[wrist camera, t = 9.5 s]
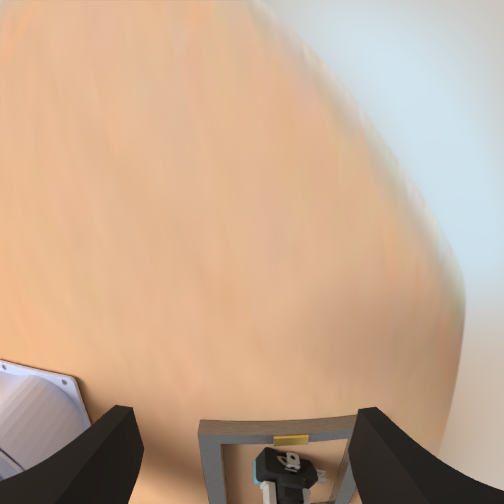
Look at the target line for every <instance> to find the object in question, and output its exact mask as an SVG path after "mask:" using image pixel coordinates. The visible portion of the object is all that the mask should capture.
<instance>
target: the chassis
mask: <svg viewBox="0 0 504 504" xmlns="http://www.w3.org/2000/svg"><path fill="white" fill-rule="evenodd" d="M356 418H357V415H353V416H344V417H334V418H323V419H309V420H291V421H212V420H200V424H199V429H198V439H199V446H200V452H201V459H202V465H203V471H204V477H205V482H206V488H207V493H208V499H209V504H228V498H227V488H226V478H225V468H224V456H223V445H222V444H274V446H284V445H303V444H308V442H316V441H327V440H337V439H345V438H349V439H348V442H347V446H346V449H345V453H344V456H343V460H342V463H341V466H340V469H339V473H338V476H337V479H336V482H335V485H334V488H333V491H332V494H331V497H330V500H329V502H322V503H313V504H349V502H350V500H351V497H352V495H353V493H354V490H355V488H356V483H355V480H354V477H353V474H352V469H351V465H350V459H349V454H348V448H349V444H350V441H351V437H352V433H353V430H354V426H355V422H356Z"/></svg>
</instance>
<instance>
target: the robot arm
mask: <svg viewBox="0 0 504 504" xmlns="http://www.w3.org/2000/svg"><path fill="white" fill-rule="evenodd" d="M143 452H144V446H143V443H142V440H141V436H140V433H139V429H138V426H137V422H136V419H135V415H134V411H133V407H126V406H119V405H115V406H114V407H113V408H111V409H110V410H109V411H108V412H107V413H105V414H104V415H103V416H102V417H101V418H100V419H98V420H97V421H96V422H95V423H94V424H92V425H91V423H90V420H89V417H88V414H87V412H86V409H85V406H84V403H83V400H82V397H81V394H80V391H79V388H78V385H77V382H76V380H75V379H74V378H73V377H71V376H67V375H62V374H57V373H53V372H48V371H43V370H39V369H35V368H30V367H26V366H22V365H18V364H15V363H11V362H7V361H3V360H0V504H128V502H129V499H130V496H131V494H132V491H133V488H134V486H135V483H136V480H137V477H138V474H139V471H140V466H141V462H142V457H143ZM348 454H349V459H350V465H351V469H352V474H353V477H354V480H355V483H356V486H357V489H358V492H359V495H360V498H361V501H362V503H363V504H504V491H502V490H500V489H497V488H494V487H491V486H488V485H486V484H484V483H481V482H479V481H476V480H474V479H472V478H470V477H468V476H466V475H464V474H463V473H461V472H459V471H457V470H455V469H454V468H452V467H450V466H449V465H447V464H445V463H444V462H442V461H441V460H439V459H438V458H437V457H435V456H434V455H432V454H431V453H430V452H428V451H427V450H426V449H424V448H423V447H422V446H420V445H419V444H418V443H417V442H415V441H414V440H413V439H412V438H411V437H409V436H408V435H407V434H406V433H405V432H404V431H403V430H401V429H400V428H399V427H398V426H397V425H396V424H395V423H394V422H392V421H391V420H390V419H389V418H388V417H387V416H386V415H385V414H384V413H383V412H382V411H380V410H379V409H378V408H377V407H371V408H363V409H359V410H358V414H357V418H356V422H355V426H354V430H353V433H352V437H351V441H350V444H349V448H348Z"/></svg>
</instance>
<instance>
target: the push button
mask: <svg viewBox="0 0 504 504" xmlns="http://www.w3.org/2000/svg"><path fill="white" fill-rule="evenodd" d="M286 454H287V455H283V454H279V453H276V451H275V450H274V449H272V448H268V447H266V448H265V449H264V450H263V451H262V452H261V453H260V455H259V456H258V457H257V458H256V459H255V460H254V462H253V482H254V484H256V485H259V486H260V489H261V490H263V504H310V499H309V495H310V494H311V492H310V489H309V488H310V487H312V486H313V485H314V484H315V483H320V484H324V483H325V482H326V481H327V480H328V478H322V477H319V476H323V475H324V474H325V473H326V471H323V470H318V469H317V468H315V467H313V465H312V462H311V461H308V460H304V459H299V456H298V455H297V454H296V453H291V452H287V453H286ZM291 456H294V457H291ZM318 472H322V473H321V474H317V473H318ZM319 480H323V481H321V482H320V481H319Z"/></svg>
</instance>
